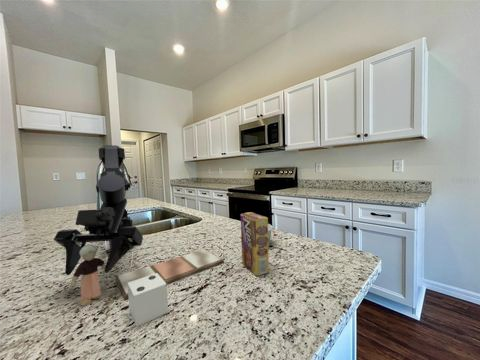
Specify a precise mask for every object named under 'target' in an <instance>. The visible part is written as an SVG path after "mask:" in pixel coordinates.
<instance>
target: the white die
mask: <svg viewBox="0 0 480 360" xmlns="http://www.w3.org/2000/svg"><path fill="white" fill-rule="evenodd" d="M127 284H128V297H129V299H128V306H129V307H128V308H129V313H130V315H131V317H132V320H133V322H134V324H135V327H139V326H142V325H143V324H146V323H147V322H150V321H152V320H155V319H157V318H160V317H161V316H164V315H165V314H168V313H169V302H168V301H169V299H168V289H167V287H168V286H167V285H168V284H166V283H165V282H164V280H163V279H162V278H161V277H160V276H159V275H158V273H155V274H152V275H149V276H146V277H143V278H140V279H137V280H134V281H131V282H128V283H127Z"/></svg>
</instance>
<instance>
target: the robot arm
mask: <svg viewBox="0 0 480 360" xmlns="http://www.w3.org/2000/svg"><path fill="white" fill-rule="evenodd" d="M125 155H126V154H125V148H123V147H120V146H119V145H108V144H107V145H103V146H102V147H100V148H98V158H99V161H101V163H102V166H103V167H104V171H103V172H101V173H100V174H99V179H98V180H97V181H96V185H95V188H96V189H95V190H96V193H97V194H99V196H100V197H99V198H100V201H101V202H102V203H101V205H100V208H99V209H82V210H81V209H80V210H78V211H77V216H76V219H75V225H76V226H82V227H84V228H83V230H85V231H86V232H88V233H84V234H83V233H81V232H80V231H79V230H78V229H77V228H76V229H73V228H72V229H62V230H59V231H57V233H56V234H55V236H54V238H53V241H54V242H56V243H57V244H59V245H60V246H61V247H63V248H64V249H65V255H66V256H65V270H64V272H65V275H67V276H69V275H71V274H72V273H73V271H74V270H75V269H76V267H77V265H78V264H79V261H80V260H81V258H82V257H80V254H79V252H80V251H81V249H82V248H83V247H84V246H86V244H87V243H94V242H95V243H97V242H99V243H100V242H109V244H108V245H109V248H108V249H107V250H105V253H109V255H108V258H107V261H106V263H105V265H106V266H105V269H103V270H104V273H106V274H109V272H110V271H111V270H112V269H113V268H114V267H115V266H116V265H117V263H118V262H119V261H120V260H121V259H122V258H123V257H124V256H125V255H126V254H127V253H128V252H129V251H130V250H133V249H134V248H135V247H139V246H141V245H142V243H143V238H144V237H143V234H142V233H141V232H140V230H139V228H137V227H136V226H135V225H133V220H132V219H131V216H129V215H128V211H127V209H126V206H127V204H128V200H127V199H126V192H128V191H129V189H130V188H131V183H130V182H129V181H128V179H126V178H125V173H124V172H123V171H122V170H121V169H122V168H123V167H124V160H125V159H126V156H125Z"/></svg>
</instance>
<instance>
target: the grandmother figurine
mask: <svg viewBox="0 0 480 360" xmlns="http://www.w3.org/2000/svg"><path fill="white" fill-rule="evenodd" d="M97 252H98V247H97V246H96V245H93V244H91V245H90V244H87V245H86V244H85V246H84V247H83V248H82V249H81V251H80V252H79V254H80V257H81V258H82V260H83V261H82V262H80V264H79V265H78V267H77V268H76V270H75V271H74V273H73V276H72V278H71V281H70V285H72V286H75V285H76V284H77V281H78V280H79V277H80V276H81V279H80V280H81V282H80V301H79V304H80V306H81V307H85V306H88V305H89V304H90V305H91V303H92V301H93V300H98V299H100V298H101V297H103V293H102V292H101V286H100V281H99V269H98V268H99V267H100V268H101V269H102V270H105V266H106V263H105V261H104V260H103V259H102V258H98V257H96V255H97Z"/></svg>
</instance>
